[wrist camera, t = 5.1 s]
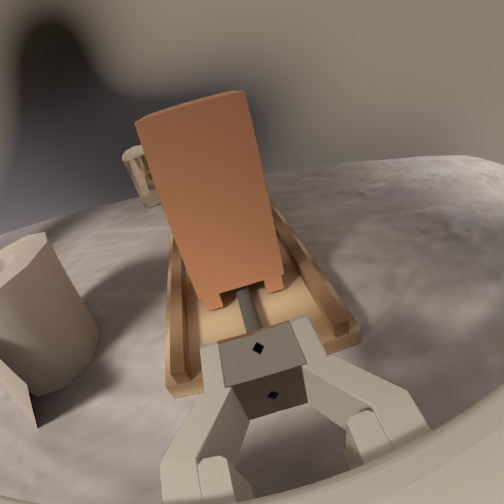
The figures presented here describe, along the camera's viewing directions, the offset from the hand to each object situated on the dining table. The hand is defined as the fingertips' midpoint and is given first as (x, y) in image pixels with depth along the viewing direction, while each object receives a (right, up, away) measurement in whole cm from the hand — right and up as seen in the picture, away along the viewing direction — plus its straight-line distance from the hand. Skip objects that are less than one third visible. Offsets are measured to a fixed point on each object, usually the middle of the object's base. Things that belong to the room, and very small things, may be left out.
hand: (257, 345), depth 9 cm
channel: (-2, +2, +19) cm, 20 cm away
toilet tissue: (-16, -6, +12) cm, 21 cm away
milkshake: (-14, +10, +36) cm, 40 cm away
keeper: (-1, +1, +13) cm, 13 cm away
